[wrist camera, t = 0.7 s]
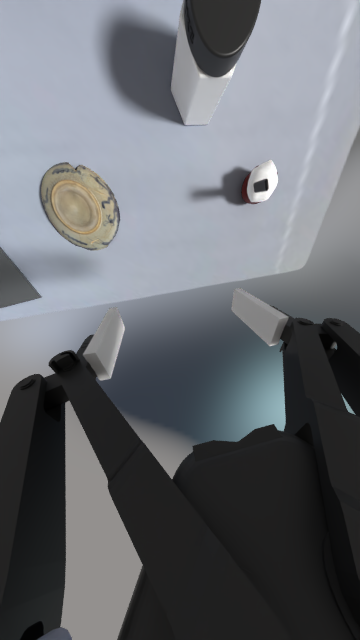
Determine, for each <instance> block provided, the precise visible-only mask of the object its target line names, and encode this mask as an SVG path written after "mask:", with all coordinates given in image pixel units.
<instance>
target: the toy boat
mask: <svg viewBox="0 0 360 640" xmlns="http://www.w3.org/2000/svg"><path fill="white" fill-rule="evenodd" d="M277 183H278V177H277V170H276V167H275V165H274V163H273V162H272V160H269V161H267V162H264V163H262V164H261V165H259V166H257V167H255V168H254V169H253V170H252V171H251V172H250V173H249V174H248V176H247V177H246V178H245V180H244V183H243V185H242V192H241V193H242V198H243V199H244V201H245V202H246V203H250V204H257V203H259V202H263V201H266V200H267V199H268V198H269V197H270V195H271V194H272V192H273V191H274V189H275V187H276V185H277Z"/></svg>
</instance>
